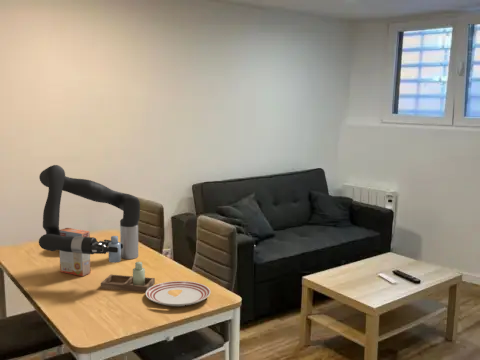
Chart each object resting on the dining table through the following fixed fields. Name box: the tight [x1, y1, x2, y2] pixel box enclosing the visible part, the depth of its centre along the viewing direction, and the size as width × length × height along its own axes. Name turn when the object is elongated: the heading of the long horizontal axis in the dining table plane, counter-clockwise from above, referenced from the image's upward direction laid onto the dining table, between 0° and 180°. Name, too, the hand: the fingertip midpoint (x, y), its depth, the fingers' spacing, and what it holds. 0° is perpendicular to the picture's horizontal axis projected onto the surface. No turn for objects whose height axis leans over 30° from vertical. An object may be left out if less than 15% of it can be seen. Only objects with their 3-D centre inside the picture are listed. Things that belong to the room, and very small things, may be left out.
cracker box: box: [59, 227, 91, 277], centre depth 241 cm, size 14×6×21 cm, turn 65°
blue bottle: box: [108, 235, 122, 264], centre depth 224 cm, size 5×5×11 cm
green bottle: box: [132, 261, 146, 286], centre depth 225 cm, size 5×5×11 cm
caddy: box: [100, 274, 156, 293], centre depth 226 cm, size 11×21×3 cm, turn 81°
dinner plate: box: [145, 280, 212, 307], centre depth 216 cm, size 28×27×3 cm
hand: (120, 248), depth 224 cm, fingers closed on blue bottle, 5 cm apart
